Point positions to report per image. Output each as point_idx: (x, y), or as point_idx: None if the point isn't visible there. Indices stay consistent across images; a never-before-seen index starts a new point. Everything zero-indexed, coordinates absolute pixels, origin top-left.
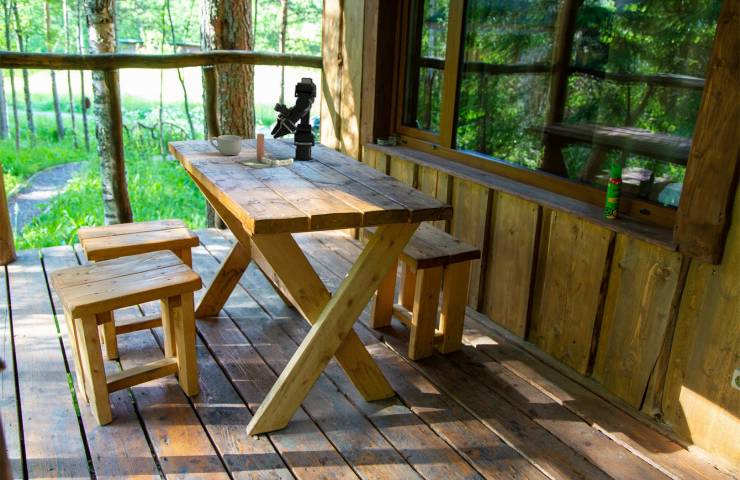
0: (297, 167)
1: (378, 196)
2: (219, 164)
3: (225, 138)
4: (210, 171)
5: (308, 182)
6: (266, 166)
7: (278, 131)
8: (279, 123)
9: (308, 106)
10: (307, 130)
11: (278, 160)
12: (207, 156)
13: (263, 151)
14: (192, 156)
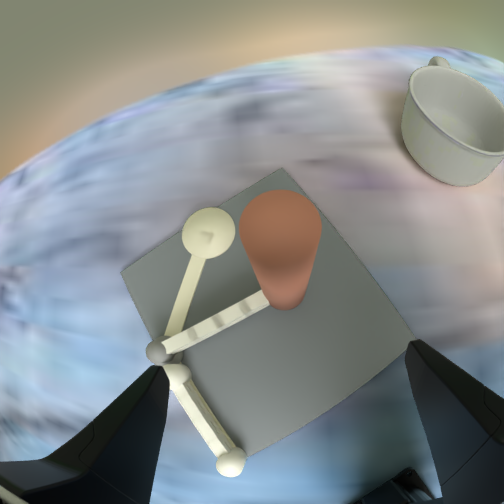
0: (172, 472)
1: None
2: (221, 125)
3: (487, 105)
4: (112, 127)
5: None
6: (154, 318)
7: (94, 425)
8: (494, 469)
9: None
10: None
11: (173, 388)
12: (371, 88)
13: (269, 296)
14: (352, 59)
